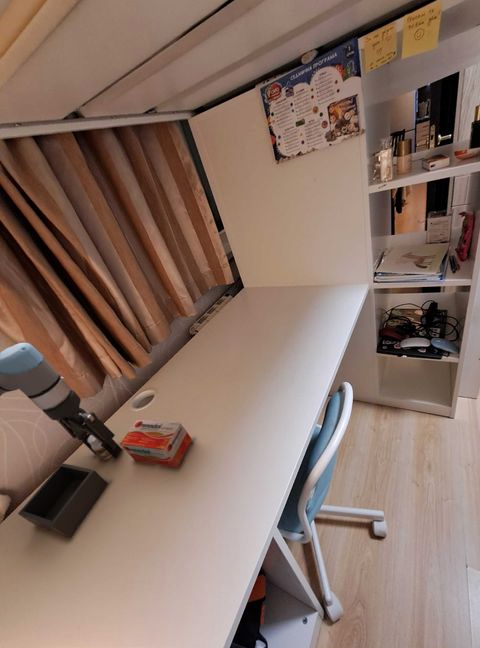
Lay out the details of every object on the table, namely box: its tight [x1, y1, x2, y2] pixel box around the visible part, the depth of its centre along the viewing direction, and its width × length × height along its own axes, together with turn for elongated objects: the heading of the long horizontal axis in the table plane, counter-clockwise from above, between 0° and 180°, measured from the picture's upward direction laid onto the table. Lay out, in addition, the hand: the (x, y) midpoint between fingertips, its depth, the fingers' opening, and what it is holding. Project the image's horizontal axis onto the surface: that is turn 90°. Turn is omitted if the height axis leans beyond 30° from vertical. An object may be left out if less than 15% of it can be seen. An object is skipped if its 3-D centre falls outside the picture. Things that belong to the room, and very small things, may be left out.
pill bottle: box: [88, 435, 113, 460], centre depth 81 cm, size 4×4×8 cm
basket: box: [17, 462, 110, 539], centre depth 71 cm, size 13×13×6 cm
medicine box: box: [119, 419, 193, 468], centre depth 76 cm, size 15×8×8 cm, turn 73°
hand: (108, 452), depth 83 cm, fingers open, 7 cm apart
